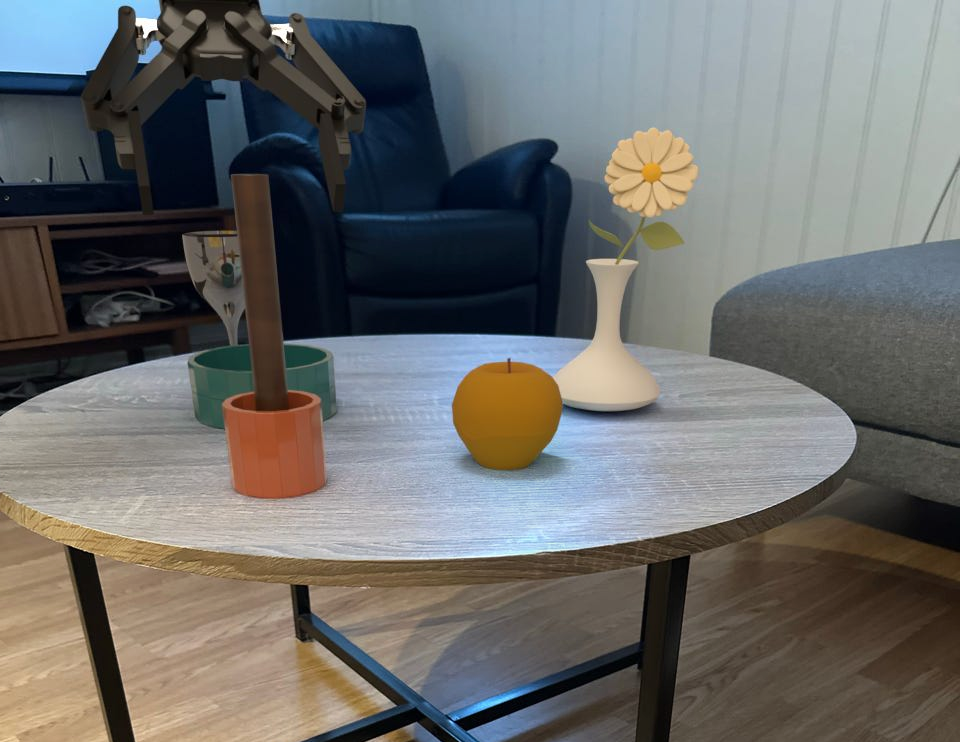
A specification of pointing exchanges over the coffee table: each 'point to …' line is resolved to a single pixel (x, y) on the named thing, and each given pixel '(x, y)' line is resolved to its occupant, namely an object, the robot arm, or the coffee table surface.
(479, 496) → the coffee table surface
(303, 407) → the crock
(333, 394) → the bowl
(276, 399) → the stick
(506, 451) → the apple
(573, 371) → the flower in vase
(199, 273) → the wine glass
